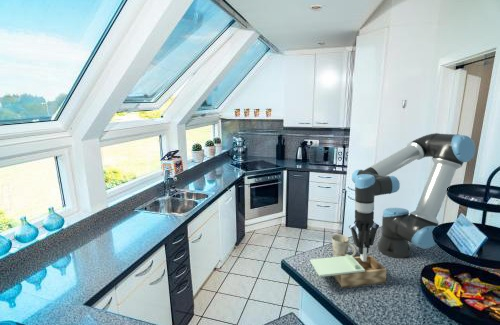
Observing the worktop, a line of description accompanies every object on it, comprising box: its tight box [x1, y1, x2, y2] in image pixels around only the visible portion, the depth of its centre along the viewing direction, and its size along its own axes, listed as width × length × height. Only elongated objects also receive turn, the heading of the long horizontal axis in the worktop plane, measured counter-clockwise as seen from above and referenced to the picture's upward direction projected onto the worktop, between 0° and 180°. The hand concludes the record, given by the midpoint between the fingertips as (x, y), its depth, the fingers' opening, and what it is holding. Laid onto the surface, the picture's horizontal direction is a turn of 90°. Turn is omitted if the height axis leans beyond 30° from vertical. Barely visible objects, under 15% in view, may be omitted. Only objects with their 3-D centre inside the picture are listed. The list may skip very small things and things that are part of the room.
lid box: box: [332, 254, 387, 289], centre depth 119 cm, size 20×12×6 cm, turn 96°
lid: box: [309, 253, 365, 278], centre depth 117 cm, size 20×12×2 cm, turn 96°
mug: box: [331, 234, 357, 257], centre depth 135 cm, size 8×13×10 cm, turn 51°
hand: (363, 259), depth 118 cm, fingers closed
